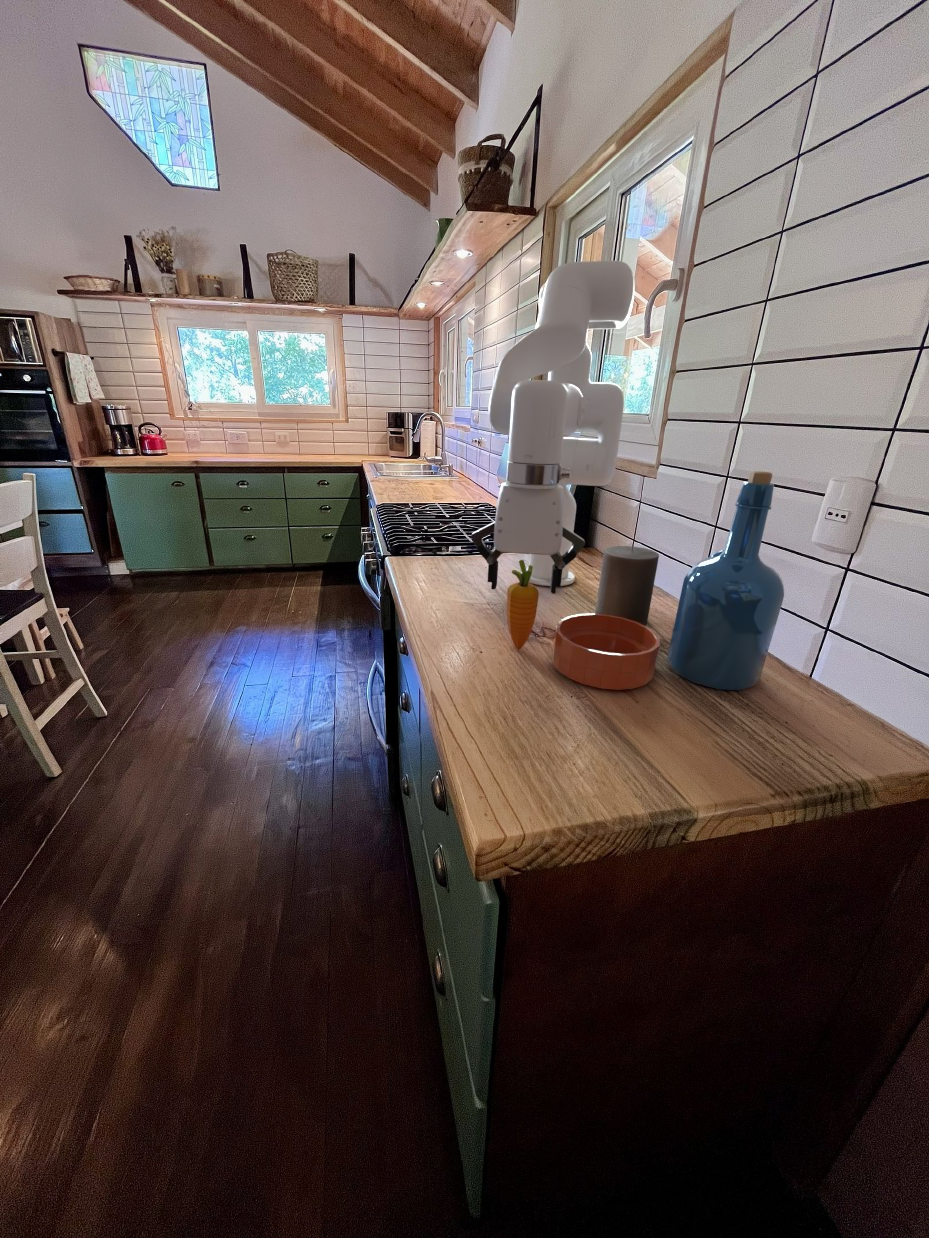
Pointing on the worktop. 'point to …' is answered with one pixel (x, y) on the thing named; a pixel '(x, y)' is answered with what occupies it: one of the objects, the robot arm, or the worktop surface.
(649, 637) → the bowl
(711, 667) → the wine bottle
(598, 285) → the robot arm
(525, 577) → the carrot
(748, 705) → the worktop surface
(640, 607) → the pillar candle
